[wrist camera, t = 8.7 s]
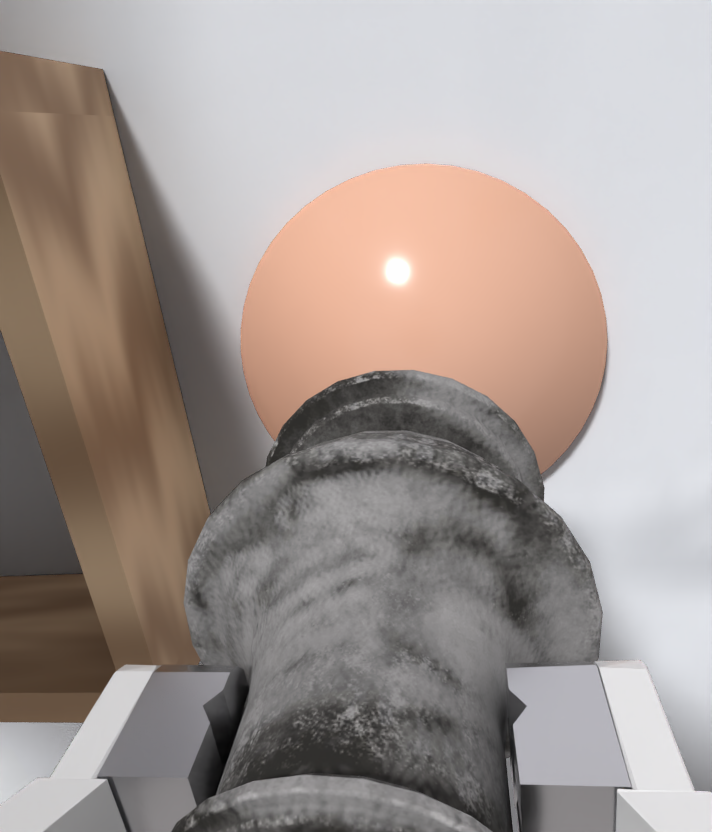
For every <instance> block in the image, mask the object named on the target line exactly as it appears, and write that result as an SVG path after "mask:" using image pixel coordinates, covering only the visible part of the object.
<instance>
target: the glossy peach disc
mask: <svg viewBox="0 0 712 832" xmlns="http://www.w3.org/2000/svg"><path fill="white" fill-rule="evenodd" d="M606 353H607V326H606V316H605V311H604V306H603V301H602V296H601V292H600V290H599V287H598V284H597V281H596V279H595V276H594V273H593V271H592V269H591V267H590V265H589V263H588V261H587V259H586V257H585V256H584V254H583V252H582V250H581V248H580V247H579V246H578V244H577V243H576V242H575V240H574V239H573V238H572V236H571V235H570V233H569V232H568V231H567V229H566V228H565V227H564V226H563V225H562V224H561V223H560V222H559V221H558V220H557V219H556V218H555V217H554V216H553V215H552V214H551V213H550V212H549V211H548V210H547V209H545V208H544V207H543V206H541V205H540V204H539V203H537V202H536V201H535V200H534V199H532V198H531V197H530V196H528V195H527V194H526V193H524V192H522V191H521V190H519V189H517V188H515V187H513V186H511V185H510V184H508V183H506V182H504V181H502V180H500V179H497V178H495V177H492V176H489V175H487V174H484V173H481V172H479V171H475V170H470V169H466V168H461V167H457V166H452V165H440V164H428V163H424V164H408V165H398V166H393V167H388V168H383V169H378V170H374V171H371V172H368V173H365V174H363V175H360V176H357V177H354V178H351V179H349V180H347V181H345V182H343V183H341V184H340V185H338V186H336V187H334V188H332V189H330V190H328V191H326V192H324V193H323V194H322V195H320V196H319V197H317V198H316V199H315V200H313V201H312V202H310V203H309V204H307V205H306V206H305V207H304V208H303V209H301V210H300V211H299V212H298V213H297V214H296V215H295V216H294V217H293V218H292V219H291V220H290V221H289V222H288V223H287V224H286V225H285V226H284V227H283V229H282V230H281V231H280V232H279V233H278V235H277V236H276V237H275V238H274V240H273V241H272V242H271V244H270V245H269V247H268V249H267V250H266V252H265V254H264V255H263V257H262V259H261V260H260V262H259V264H258V266H257V269H256V271H255V273H254V276H253V278H252V280H251V283H250V286H249V289H248V293H247V296H246V300H245V304H244V308H243V316H242V323H241V356H242V364H243V371H244V376H245V379H246V383H247V387H248V391H249V394H250V397H251V399H252V401H253V404H254V406H255V409H256V411H257V414H258V415H259V417H260V419H261V421H262V422H263V424H264V426H265V428H266V429H267V431H268V433H269V434H270V436H271V437H272V438H273V440H274V441H275V440H276V438H277V436H278V434H279V432H280V430H281V428H282V426H283V425H284V424H285V423H286V421H287V420H288V419H289V418H290V417H291V416H292V415H293V414H294V413H295V412H296V411H297V410H298V409H299V407H300V406H301V405H302V404H303V403H304V402H305V401H306V400H307V399H309V398H311V397H312V396H314V395H316V394H317V393H319V392H321V391H322V390H324V389H326V388H327V387H329V386H331V385H332V384H334V383H336V382H337V381H341V380H344V379H348V378H351V377H355V376H358V375H362V374H365V373H369V372H372V371H390V370H416V371H421V372H425V373H430V374H434V375H439V376H443V377H448V378H452V379H454V380H456V381H458V382H460V383H462V384H464V385H466V386H468V387H470V388H472V389H474V390H476V391H478V392H480V393H482V394H484V395H486V396H488V397H489V398H490V399H491V400H492V401H493V402H494V403H495V404H497V405H498V406H499V407H500V408H501V409H502V410H503V411H504V412H505V413H507V414H508V415H509V416H510V417H511V418H512V419H513V420H514V421H515V422H516V423H517V425H518V426H519V428H520V429H521V431H522V433H523V434H524V436H525V437H526V439H527V441H528V442H529V444H530V445H531V447H532V449H533V450H534V452H535V455H536V459H537V463H538V466H539V470H540V474H542V473H543V472H544V471H546V470H547V469H548V468H549V467H550V466H552V465H553V464H554V463H555V461H556V460H557V459H558V458H559V457H560V456H561V455H562V454H563V453H564V452H565V451H566V450H567V449H568V447H569V446H570V445H571V443H572V442H573V441H574V439H575V438H576V436H577V435H578V434H579V432H580V431H581V429H582V427H583V426H584V424H585V422H586V420H587V418H588V416H589V415H590V413H591V411H592V409H593V406H594V403H595V401H596V398H597V396H598V393H599V390H600V387H601V383H602V378H603V374H604V370H605V364H606Z"/></svg>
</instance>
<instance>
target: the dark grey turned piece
mask: <svg viewBox="0 0 712 832" xmlns="http://www.w3.org/2000/svg"><path fill="white" fill-rule="evenodd" d="M184 607H185V612H186V617H187V622H188V626H189V631H190V636H191V640H192V645H193V647H194V649H195V650H196V652H197V654H198V656H199V658H200V660H201V662H202V664H203V665H223V666H238V667H240V668H242V669H244V672H245V675H246V679H247V682H248V686H249V693H248V696H247V699H246V702H245V705H244V707H246V708H245V711H244V714H243V717H242V720H241V723H240V725H239V728H238V731H237V734H236V737H235V740H234V743H233V746H232V749H231V752H230V755H229V758H228V760H227V763H226V766H225V769H224V772H223V775H222V778H221V781H220V784H219V787H218V790H217V793H216V795H215V796H213V797H210V798H208V799H206V800H205V801H204V802H202V803H201V804H200V805H198V806H197V807H196V808H195V809H193V810H192V811H191V812H190V813H188V814H187V815H186V816H184V817H183V818H182V819H181V820H179V821H178V822H177V823H176V824H175V826H174V828H173V830H172V831H171V832H513V829H512V818H511V808H510V798H509V788H508V777H507V767H506V758H509V757H510V747H509V733H508V717H509V715H508V705H507V695H506V679H505V663H537V662H593V663H594V662H595V661H597V660H598V657H599V647H600V636H601V625H602V614H603V612H602V608H601V604H600V600H599V596H598V592H597V588H596V584H595V580H594V576H593V572H592V568H591V565H590V562H589V560H588V558H587V557H586V555H585V554H584V552H583V550H582V549H581V547H580V546H579V544H578V543H577V541H576V539H575V538H574V536H573V535H572V533H571V532H570V530H569V528H568V527H567V525H566V524H565V522H564V521H563V519H562V517H561V516H559V515H558V514H557V513H556V512H555V511H554V510H553V509H551V508H550V507H549V506H548V505H547V504H546V503H545V502H544V485H543V481H542V478H541V474H540V470H539V466H538V463H537V459H536V455H535V452H534V450H533V449H532V447H531V445H530V444H529V442H528V441H527V439H526V437H525V436H524V434H523V433H522V431H521V429H520V428H519V426H518V425H517V423H516V422H515V421H514V420H513V419H512V418H511V417H510V416H509V415H508V414H507V413H505V412H504V411H503V410H502V409H501V408H500V407H499V406H498V405H497V404H495V403H494V402H493V401H492V400H491V399H490V398H489V397H488V396H486V395H484V394H482V393H480V392H478V391H476V390H474V389H472V388H470V387H468V386H466V385H464V384H462V383H460V382H458V381H456V380H454V379H452V378H448V377H443V376H439V375H434V374H430V373H425V372H421V371H416V370H390V371H372V372H369V373H365V374H362V375H358V376H355V377H351V378H348V379H344V380H341V381H337V382H336V383H334V384H332V385H331V386H329V387H327V388H326V389H324V390H322V391H321V392H319V393H317V394H316V395H314V396H312V397H311V398H309V399H307V400H306V401H305V402H304V403H303V404H302V405H301V406H300V407H299V409H298V410H297V411H296V412H295V413H294V414H293V415H292V416H291V417H290V418H289V419H288V420H287V421H286V423H285V424H284V425H283V426H282V428H281V430H280V432H279V434H278V436H277V438H276V440H275V442H274V444H273V447H272V449H271V451H270V453H269V455H268V457H267V462H266V467H265V468H263V469H261V470H260V471H258V472H256V473H255V474H253V475H251V476H249V477H248V478H246V479H244V480H242V481H241V482H240V483H239V485H238V486H237V487H236V488H235V489H234V490H233V491H232V492H231V493H230V494H229V495H228V496H227V497H226V498H225V499H224V501H223V502H222V503H221V504H220V505H219V506H218V507H217V508H216V509H215V510H214V511H213V512H212V513H211V514H210V515H209V517H208V519H207V520H206V522H205V525H204V527H203V529H202V531H201V533H200V535H199V538H198V540H197V542H196V544H195V546H194V548H193V551H192V553H191V555H190V557H189V559H188V565H187V575H186V584H185V594H184Z"/></svg>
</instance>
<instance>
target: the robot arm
mask: <svg viewBox="0 0 712 832" xmlns="http://www.w3.org/2000/svg"><path fill="white" fill-rule="evenodd" d="M505 679H506V695H507V705H508V715H509V717H508V733H509V747H510V764H511V774H512V784H513V794H514V805H515V808H516V809H517V824H518V832H712V792H709V791H695V789H694V787H693V784H692V782H691V779H690V776H689V774H688V771H687V769H686V766H685V763H684V761H683V758H682V756H681V753H680V750H679V748H678V745H677V743H676V740H675V737H674V735H673V732H672V730H671V727H670V725H669V722H668V719H667V717H666V714H665V712H664V709H663V706H662V704H661V701H660V699H659V696H658V693H657V691H656V688H655V686H654V683H653V680H652V678H651V675H650V673H649V670H648V668H647V666H646V665H645V664H644V663H643V662H642V661H641V660H618V661H595V662H594V663H593V662H537V663H505ZM248 693H249V686H248V682H247V679H246V675H245V672H244V669H242V668H240V667H238V666H223V665H166V664H163V665H124V666H123V667H121V668H120V669H118V670H117V671H116V672H115V673H114V674H113V676H112V677H111V679H110V680H109V682H108V684H107V685H106V687H105V688H104V690H103V692H102V693H101V695H100V697H99V698H98V700H97V701H96V703H95V705H94V706H93V708H92V710H91V711H90V713H89V714H88V716H87V718H86V719H85V721H84V722H83V724H82V726H81V727H80V729H79V731H78V732H77V734H76V735H75V737H74V739H73V740H72V742H71V744H70V745H69V747H68V748H67V750H66V752H65V753H64V755H63V756H62V758H61V760H60V761H59V763H58V765H57V766H56V768H55V769H54V771H53V773H52V774H51V776H50V777H41V778H36V779H35V780H33V781H32V782H31V783H29V784H28V785H27V786H25V787H24V788H22V789H21V790H20V791H18V792H17V793H16V794H14V795H13V796H11V797H10V798H9V799H7V800H6V801H5V802H3V803H2V804H1V805H0V832H171V831H172V830H173V828H174V826H175V824H176V823H177V822H178V821H179V820H181V819H182V818H183V817H184V816H186V815H187V814H188V813H190V812H191V811H192V810H193V809H195V808H196V807H197V806H198V805H200V804H201V803H202V802H204V801H205V800H206V799H208V798H210V797H213V796H215V795H216V793H217V790H218V787H219V784H220V781H221V778H222V775H223V772H224V769H225V766H226V763H227V760H228V758H229V755H230V752H231V749H232V746H233V743H234V740H235V737H236V734H237V731H238V728H239V725H240V723H241V720H242V717H243V714H244V711H245V708H246V707H244V705H245V702H246V699H247V696H248Z"/></svg>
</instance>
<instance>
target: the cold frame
mask: <svg viewBox="0 0 712 832" xmlns="http://www.w3.org/2000/svg"><path fill="white" fill-rule="evenodd" d="M0 330H1V333H2V336H3V339H4V342H5V345H6V348H7V350H8V353H9V356H10V359H11V362H12V365H13V368H14V371H15V374H16V377H17V380H18V383H19V386H20V389H21V392H22V395H23V398H24V401H25V404H26V406H27V409H28V412H29V415H30V418H31V421H32V424H33V427H34V430H35V433H36V436H37V439H38V442H39V445H40V448H41V451H42V454H43V457H44V459H45V462H46V465H47V468H48V471H49V474H50V477H51V480H52V483H53V486H54V489H55V492H56V495H57V498H58V501H59V504H60V507H61V510H62V513H63V515H64V518H65V521H66V524H67V527H68V530H69V533H70V536H71V539H72V542H73V545H74V548H75V551H76V554H77V557H78V560H79V563H80V566H81V569H82V571H83V574H63V575H33V576H4V577H0V722H70V723H83V722H84V721H85V719H86V718H87V716H88V714H89V713H90V711H91V710H92V708H93V706H94V705H95V703H96V701H97V700H98V698H99V697H100V695H101V693H102V692H103V690H104V688H105V687H106V685H107V684H108V682H109V680H110V679H111V677H112V676H113V674H114V673H115V672H116V671H117V670H118V669H120V668H121V667H123V666H124V665H163V664H166V665H198V664H199V662H200V658H199V656H198V654H197V652H196V650H195V649H194V647H193V645H192V640H191V636H190V631H189V626H188V622H187V617H186V612H185V607H184V594H185V584H186V575H187V565H188V559H189V557H190V555H191V553H192V551H193V548H194V546H195V544H196V542H197V540H198V538H199V535H200V533H201V531H202V529H203V527H204V525H205V522H206V520H207V519H208V517H209V515H210V510H209V506H208V502H207V498H206V494H205V489H204V485H203V481H202V477H201V473H200V469H199V465H198V461H197V456H196V452H195V448H194V444H193V440H192V436H191V432H190V428H189V423H188V419H187V415H186V411H185V407H184V403H183V399H182V395H181V390H180V386H179V382H178V378H177V374H176V370H175V366H174V361H173V357H172V353H171V349H170V345H169V341H168V337H167V333H166V328H165V324H164V320H163V316H162V312H161V308H160V304H159V300H158V295H157V291H156V287H155V283H154V279H153V275H152V271H151V267H150V262H149V258H148V254H147V250H146V246H145V242H144V238H143V233H142V229H141V225H140V221H139V217H138V213H137V209H136V205H135V200H134V196H133V192H132V188H131V184H130V180H129V176H128V172H127V167H126V163H125V159H124V155H123V151H122V147H121V143H120V139H119V134H118V130H117V126H116V122H115V118H114V114H113V110H112V105H111V101H110V97H109V93H108V89H107V85H106V81H105V77H104V72H103V69H98V68H92V67H87V66H81V65H76V64H70V63H65V62H59V61H54V60H48V59H42V58H37V57H31V56H26V55H20V54H15V53H9V52H4V51H0Z"/></svg>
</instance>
